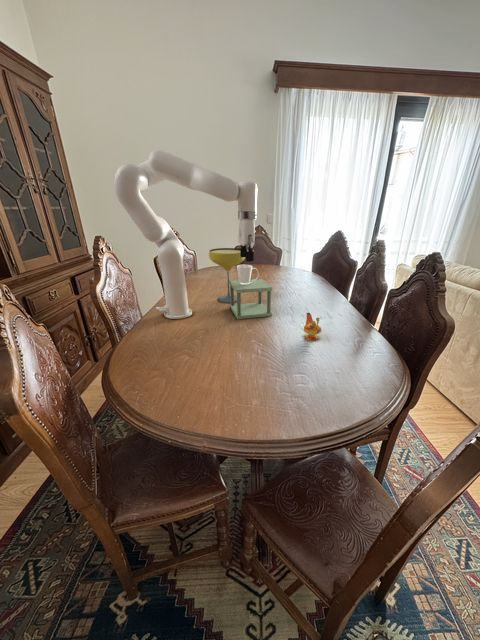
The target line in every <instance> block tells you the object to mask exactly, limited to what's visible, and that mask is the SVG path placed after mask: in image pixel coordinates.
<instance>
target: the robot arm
mask: <svg viewBox="0 0 480 640" xmlns="http://www.w3.org/2000/svg"><path fill="white" fill-rule="evenodd" d="M166 180H167V181H169V182H171V183H175V184H177V185H180V186H182V187H185V188H187V189H190V190H193V191H196V192H197V191H199V192H202V193H205V194H207V195H210V196H212V197H215V198H218V199H220V200H223V201H224V202H237V220H238V221H239V222H238V236H237V237H238V238H237V239H238V241H237V243H238V244H239V245H240V248H239V249H240V256H241V257H245V262H254V256H255V255H254V254H255V250H254V249H255V238H256V237H255V236H256V232H255V231H256V230H255V229H256V228H255V227H256V226H255V221H257V209H258V208H257V205H258V204H257V202H258V185H257V183H256V182H255V181H250V180H241V181H235V180H234V179H232V178H229V177H228V176H225V175H223V174H220V173H217V172H215V171H212V170H209V169H207V168H205V167H202V165H199V164H196V163H194V162H192V161H189V160H186V159H184V158H182V157H179V156H177V155H174V154H171V153H170V152H167V151H164V150H161V149H154V150H152V151H150V153H149V155H148V157H147V159H146V160H144V161H142V162H140V163H138V164H132V163H124V164H122V165H120V166H119V167H118V168H117V170H116V171H115V175H114V179H113V187H114V192H115V195H116V197H117V200H118V201H119V203H120V205H121V206H122V208H123V209H124V210H125V211H126V213H127V214H128V216H129V217H130V218H131V220H132V221H133V223H134V224H135V225H136V227H137V228H138V229H139V231H140V232H141V233H142V234H141V235H143V236H144V238H145V239H146V240H147V241H149V242H151V243H154V244H155V245H156V246H157V247H158V250H157V251H158V252H157V259H158V264H159V268H160V273H161V279H162V280H161V281H162V286H163V293H164V298H165V299H164V300H165V305H163V306H156V307H155V309H156V312H159V313H163V315H164V317H165V318H167V319H170V320H181V319H182V320H183V319H187V318H189V317H191V316H192V315H193V310H192V309H191V308H189V302H188V301H189V300H188V291H187V283H186V282H187V281H186V274H185V265H184V260H183V258H184V256H185V248H184V245H183V243H182V242H181V241H180V239H179V238H178V236H177V234H176V233H175V232H174V231H173V229H172V227H171V226H170V224H169V223H168V222H167V221H166V220H165V219H164V218H163V217H162V216H160V215H159V216H158V215H157V214H156V213H155V212H154V210H153V209H152V208H151V206H150V205H149V202H148V201H147V200H146V199H145V198H144V197H143V195H142V193H141V192H143V191H146V190H148V189H150V188H153V187H154V186H156V185H158V184H160V183H162V182H164V181H166Z"/></svg>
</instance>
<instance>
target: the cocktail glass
mask: <svg viewBox="0 0 480 640" xmlns="http://www.w3.org/2000/svg"><path fill="white" fill-rule="evenodd" d="M208 257H209V260H210V261H211V262H212V263H214V264H216V265H218V266H220V267H222V268H223V269H224V270H225V272H227V295H224V296H221V297H219V298H218V301H219V302H221V303H225V304H226V303H227V304H231V292H230V284H229V281H230V272H231V270H232V269H233V268H234V267H237V266H238V265H240V264H241V263H243V261H245V260H246V257H241V256H240V248H236V247H235V248H234V247H232V248H231V247H222V248H221V247H220V248H219V247H218V248H213V249H210V250H209V251H208ZM234 303H237V296H235V295H234Z"/></svg>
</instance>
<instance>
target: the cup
mask: <svg viewBox="0 0 480 640" xmlns="http://www.w3.org/2000/svg"><path fill="white" fill-rule="evenodd" d="M236 270H237V271H236V272H237V276H238V277H237V278H238V280H239V281H240V282H241V283H240V284H241V285H249V284H252V283H254V282H255V281H256V280H257V279H260V278H259V277H260V272H259V270H258V268H256V267H253V265H251V264H237V265H236ZM254 270H256V272H257V277H256V278H255V279H256V280H254V281H253V282H251V283H248V282H249V281H250V279H251V278H252V271H254Z"/></svg>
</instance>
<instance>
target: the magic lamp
mask: <svg viewBox="0 0 480 640" xmlns="http://www.w3.org/2000/svg"><path fill="white" fill-rule="evenodd" d="M305 314H306V320H305V325H304V326H303V332H304V333H305V334H307V335H305V337H304V338H305V340H307V341H310V342H311V341H312V342H315V341H318V340H319V337H318V336H317V335H319V334H320V333H322V329H323V328H322V327H321V326H320V325H319V322H320V317H316V318H315V320H314V319H313V317H312V314H311V313H310V312H306V313H305Z"/></svg>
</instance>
